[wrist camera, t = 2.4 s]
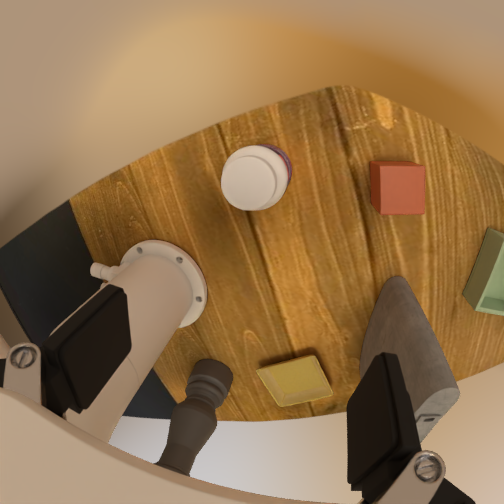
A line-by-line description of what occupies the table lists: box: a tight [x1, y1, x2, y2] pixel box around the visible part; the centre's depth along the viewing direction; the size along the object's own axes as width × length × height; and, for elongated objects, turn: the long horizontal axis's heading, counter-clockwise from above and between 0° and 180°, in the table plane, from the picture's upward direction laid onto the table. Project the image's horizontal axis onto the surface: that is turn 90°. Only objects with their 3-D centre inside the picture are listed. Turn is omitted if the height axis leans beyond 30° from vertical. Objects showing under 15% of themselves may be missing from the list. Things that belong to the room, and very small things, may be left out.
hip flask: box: [360, 276, 460, 451], centre depth 25 cm, size 16×4×20 cm, turn 178°
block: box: [370, 161, 425, 215], centre depth 25 cm, size 4×4×4 cm
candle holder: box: [154, 359, 233, 477], centre depth 31 cm, size 6×6×25 cm
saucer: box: [256, 354, 334, 407], centre depth 38 cm, size 9×9×2 cm
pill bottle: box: [221, 144, 292, 211], centre depth 25 cm, size 5×5×10 cm
